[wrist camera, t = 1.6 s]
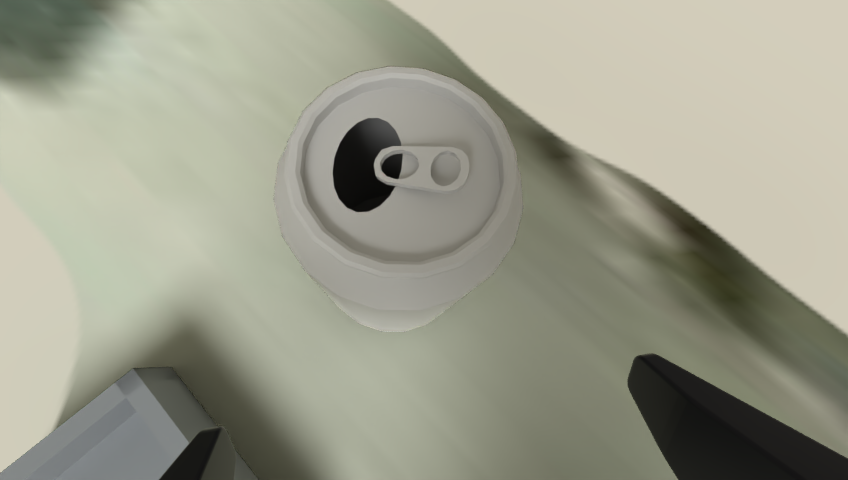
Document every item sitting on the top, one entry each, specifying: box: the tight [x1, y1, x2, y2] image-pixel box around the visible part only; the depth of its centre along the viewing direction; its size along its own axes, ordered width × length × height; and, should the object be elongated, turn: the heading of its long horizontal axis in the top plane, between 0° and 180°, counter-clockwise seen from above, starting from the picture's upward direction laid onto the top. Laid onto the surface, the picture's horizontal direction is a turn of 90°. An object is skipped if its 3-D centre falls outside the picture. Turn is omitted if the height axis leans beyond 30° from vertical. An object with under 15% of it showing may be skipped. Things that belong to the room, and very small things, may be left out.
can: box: [274, 66, 523, 332], centre depth 16 cm, size 8×8×12 cm
